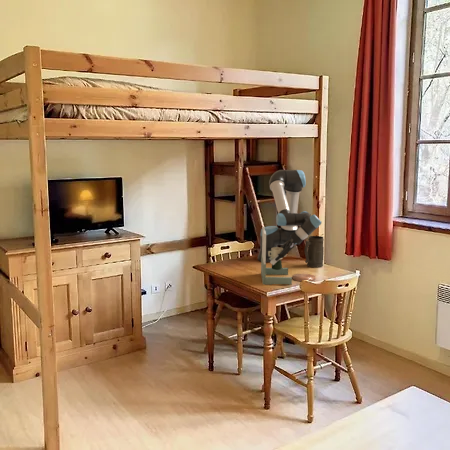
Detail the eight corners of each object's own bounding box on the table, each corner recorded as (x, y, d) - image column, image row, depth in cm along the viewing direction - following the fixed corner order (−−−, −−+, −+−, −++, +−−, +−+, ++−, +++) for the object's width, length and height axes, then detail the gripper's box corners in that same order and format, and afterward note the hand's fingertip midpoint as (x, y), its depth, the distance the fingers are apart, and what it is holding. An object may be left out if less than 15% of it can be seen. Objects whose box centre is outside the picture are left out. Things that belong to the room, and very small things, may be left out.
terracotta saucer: (287, 277, 322) (287, 275, 322) (304, 274, 330) (304, 272, 330) (303, 282, 311) (303, 280, 310) (320, 279, 318) (320, 277, 318)
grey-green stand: (287, 274, 330) (289, 227, 325) (291, 284, 307) (293, 234, 302) (261, 273, 331) (262, 226, 326) (262, 284, 307) (263, 233, 302)
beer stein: (313, 262, 361) (313, 234, 356) (327, 265, 353) (327, 236, 349) (300, 268, 350) (300, 238, 346) (313, 271, 342) (313, 241, 338)
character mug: (285, 268, 321) (286, 247, 318) (286, 271, 314) (286, 250, 311) (267, 267, 322) (268, 246, 319) (267, 270, 315) (268, 249, 312)
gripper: (305, 244, 304) (276, 270, 307) (301, 236, 324) (274, 262, 327) (296, 234, 303) (267, 261, 307) (293, 228, 323) (265, 253, 326)
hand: (271, 261), depth 317 cm, fingers closed on character mug, 7 cm apart
